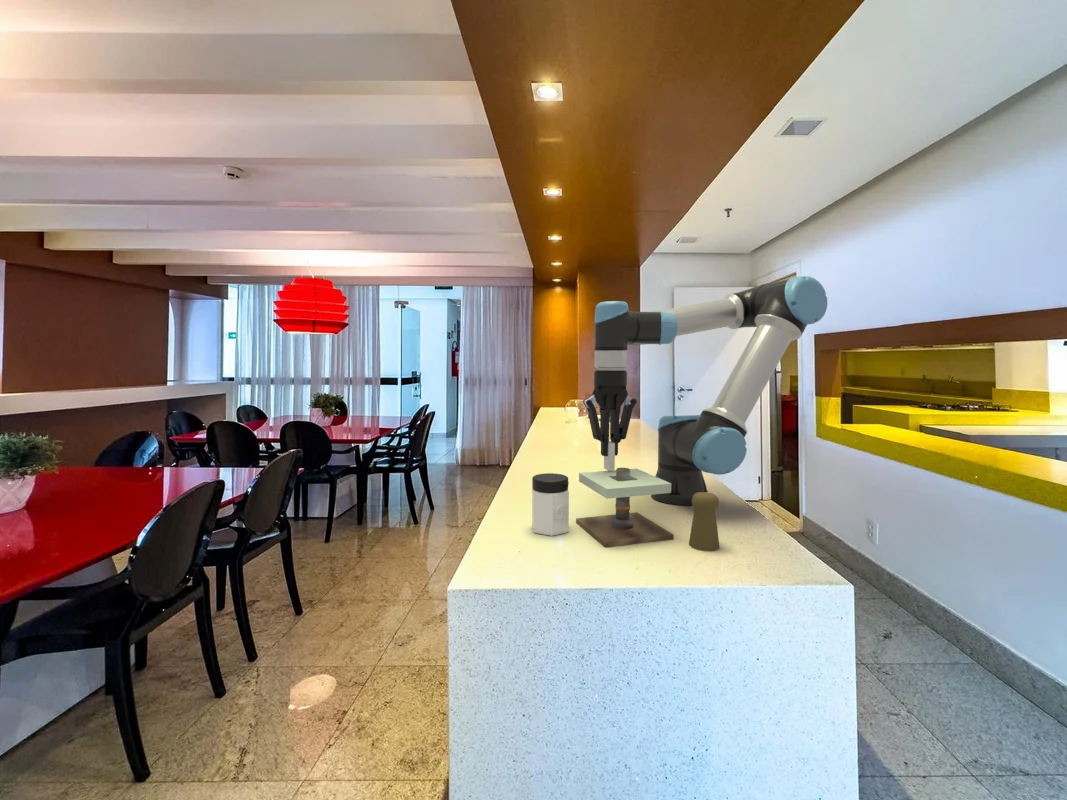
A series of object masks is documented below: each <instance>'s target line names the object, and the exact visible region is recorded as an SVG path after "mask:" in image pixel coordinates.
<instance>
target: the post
mask: <svg viewBox="0 0 1067 800" xmlns="http://www.w3.org/2000/svg"><path fill="white" fill-rule="evenodd" d="M630 469H631V468H628V467H617V468H615V470H616V481H630ZM630 498H631V497H620V498H615V514H607V515H597V516H596V515H595V516H588V517H587V516H586V517H577V518H575V523H576V524H577V525H578V526H579V527H581V529H583V530H584V531H585V532H586V533H587V534H588V535H590V536H591V537H592V538H593V539H594V540H596V541H597V542H598V543H599V544H600V545H602V547H604V548H610V547H619V546H626V545H627V546H628V545H636V544H637V545H638V544H644V543H645V544H646V543H651V542H661V541H667V540H668V541H669V540H674V534H673V533H672V532H670V531H669V530H667V529H666V528H664V527H662V526H661V525H659V524H658V523H655V522H654V521H652V520H651V519H649V518H647V517H646V516H644V515H642V514H641V513H639V512H637V511H634V512H630V510H631V505H630V504H631V501H630Z"/></svg>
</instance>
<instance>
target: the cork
mask: <svg viewBox="0 0 1067 800" xmlns="http://www.w3.org/2000/svg"><path fill="white" fill-rule="evenodd" d="M719 503H720V501H719V498H718V496H717V495H716V494H714V493H712V492H709V491H708V492H698V493H696V494H694V495H693V498H692V505H691V506H692V507H693V508H694V511H693V516H692V517H693V518H692V522H691V528H690V535H689V541H688V546H689V547H690V546H691V547H690V548H692V549H694V550H698V551H702V552H715V551H718V550H719V549H720V541H719V540H720V539H719V530H718V523H717V513H716V511H717V509H718V508H719Z"/></svg>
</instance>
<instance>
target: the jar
mask: <svg viewBox="0 0 1067 800" xmlns="http://www.w3.org/2000/svg"><path fill="white" fill-rule="evenodd" d="M531 479H532V480H531V482H532V484H531V487H532V489H531V490H532V491H531V495H532V497H531V499H532V500H531V504H532V505H531V507H532V508H531V510H532V511H531V512H532V513H531V514H532V515H531V517H532V521H531V523H532V524H531V525H532V531H533V533H534V534H538V535H545V536H549V537H555V536H557V535H558V536H559V535H562V534H565V533H569V527H570V526H569V525H570V523H569V522H570V521H569V520H570V519H569V518H570V517H569V510H570V509H569V507H570V503H569V502H570V501H569V499H570V494H569V493H570V492H569V485H570V482H569V477H568V476H567V475H564V474H561V473H553V472H549V473H547V472H546V473H538V474H535V475H533V476H532V477H531Z"/></svg>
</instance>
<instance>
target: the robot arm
mask: <svg viewBox="0 0 1067 800" xmlns="http://www.w3.org/2000/svg"><path fill="white" fill-rule="evenodd" d="M827 309H828V297H827V292H826V290H825V287H824V286H823V285H822V283H821V282H820V281H819V280H817V279H816V278H814V277H811V276H805V275H804V276H803V275H802V276H793V277H789V279H782V280H779V281H777V280H776V281H772V282H767V283H763V284H760V285H757V286H754V287H751V288H748V289H745V290H742V291H738V292H734V293H730V294H726V295H725V296H724V298H721V299H715V300H711V301H704V302H699V303H694V304H688V305H687V304H686V305H682V306H678V307H672V308H666V309H660V310H656V311H654V310H653V311H632V310H630V308H629V304H628V303H627V302H626V301H619V300H612V301H610V300H609V301H601V302H599V303H597V304H596V305H595V310H594V321H593V323H594V364H593V365H594V368H595V369H596V370H595V371H593V372H594V374H593V386H594V388H593V391H592V394H591V396H590V397H589V398H587V399H585V398H584V399H583V401H582V403H583V405H584V407H585V408H586V410H587V415H588V419H589V424H590V428H591V434H592V438H593V439H594V440H596V441H599V442H600V455H601V456H602V457H603V470H605V471H614V470H616V467H615V466H616V465H615V463H616V460H615V459H616V456H618V454H619V443H621V442H622V440H626V438H627V434H628V431H629V427H630V426H629V425H630V422H631V418H632V413H633V409H634V408H635V406H636V404H637V401H638V400H637V399H635V398H632V397H631V396H629V392H628V390H627V385H628V372H627V370H625V369H626V368H628V346H638V345H639V346H641V345H642V346H643V345H660V346H661V345H669V344H672V343H673V341H675V339H676V337H680V336H684V335H685V336H686V335H689V334H695V333H700V332H705V331H712V330H717V329H721V328H722V329H723V328H729V329H731V330H734V329H735V330H736V329H742V328H743V329H744V328H755V330H754V332H753V333H752V335H751V337H750V339H749V341H748V342H747V344H746V346H745V348H744V350H743V352H742V353H741V355H740V357H739V358H738V360H737V362H736V363H735V365H734V367H733V369H732V370H731V373H730V374H729V376H728V378H727V380H726V382H725V384H724V385H723V387H722V389H721V390H720V392H719V394H718V395H717V397H716V398H715V401H714V403H713V405H712V406H711V407H708V408H704V409H703V410H701V411H702V412H701V413H700V414H693V415H691V414H690V415H689V414H688V415H687V414H685V415H684V414H683V415H664V416H662V417H660V418H659V420H658V428H657V431H658V442H657V443H658V445H657V446H658V447H657V448H658V449H657V452H658V453H657V470H656V473H655V477H657V478H660V479H662V480H664V481H667V482H669V483H671V493H664V494H653V495H650V497H651V498H652V499H653V500H656V501H658V502H660V503H664V504H669V505H670V504H671V505H679V506H693V505H692V498H693V495H694V494H696V493H698V492H708V493H709V491H708V488H707V485H706V481H705V479H704V478H705V477H704V474H703V472H704V473H706V474H707V473H708V474H711V475H712V474H713V475H719V476H720V475H726V474H730V473H731V472H733V471H735V470H736V469H738V468H739V467H740V466H741V464H743V461H744V460H745V458H746V456H747V447H746V446H747V441H746V439H745V438H746V435H747V434H748V429H747V427H746V422H747V420H748V418H749V417H750V415H751V413H752V411H753V409H754V407H755V406H756V404H757V403H758V400H759V398H760V397H761V395H762V394H763V391H764V390H765V387H767V385H768V382H769V381H770V379H771V378H772V376H773V374H774V372H775V369H776V368H777V366H778V364H779V363H780V362H781V359H782V357H783V356H784V354H785V352H786V350H788V349H787V348H788V347H789V345H790V343H791V342H793V341H797V340H799V339H800V338H801V336H802V335H803V333H804V332H805V330H806V327H807V326H808V325H814V324H816V323H818V322H819V321H821V319H823V318H824V316H825V314H826V312H827ZM596 404H597V405H598V407H599V413H600V416H599V417H600V418H599V417H598V412H597V409H596ZM623 404H624V405H623ZM622 405H623V408H622V410H621V406H622ZM621 411H622V412H621ZM620 414H621V416H620Z"/></svg>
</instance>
